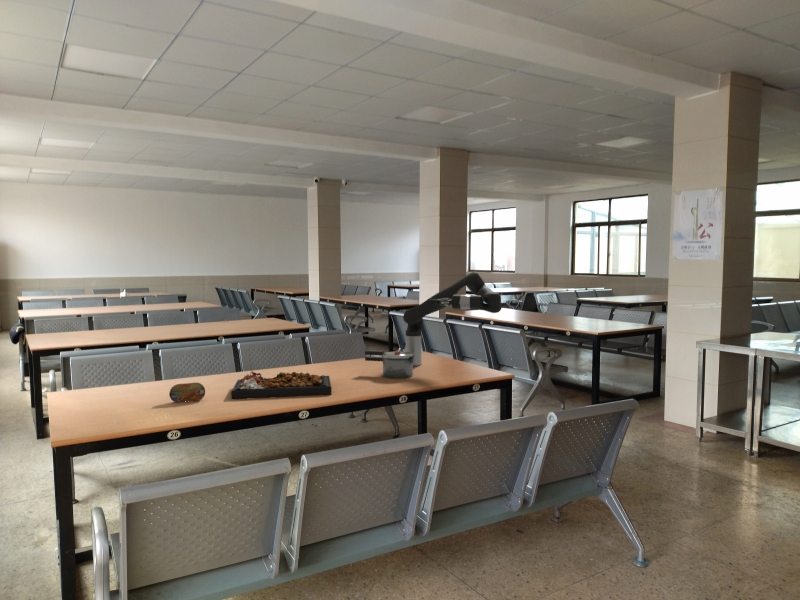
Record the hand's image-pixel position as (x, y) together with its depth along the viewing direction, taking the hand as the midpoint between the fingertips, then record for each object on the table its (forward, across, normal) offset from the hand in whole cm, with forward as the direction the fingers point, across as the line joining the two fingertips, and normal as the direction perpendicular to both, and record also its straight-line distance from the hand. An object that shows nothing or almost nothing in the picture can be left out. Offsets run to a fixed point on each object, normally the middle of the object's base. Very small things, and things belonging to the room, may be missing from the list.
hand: (429, 301), depth 301 cm
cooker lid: (+22, 0, +30) cm, 37 cm away
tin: (+93, +76, +40) cm, 127 cm away
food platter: (+61, +48, +41) cm, 87 cm away
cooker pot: (+22, 0, +40) cm, 46 cm away
